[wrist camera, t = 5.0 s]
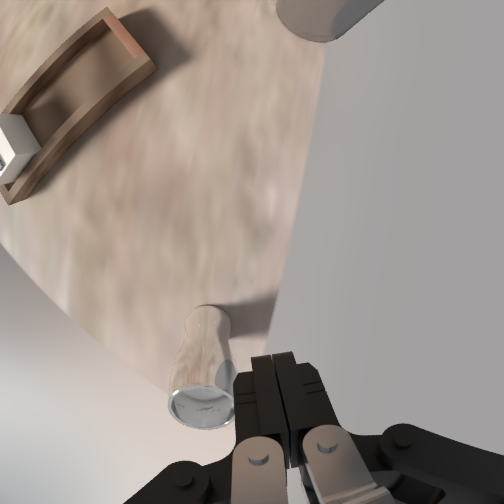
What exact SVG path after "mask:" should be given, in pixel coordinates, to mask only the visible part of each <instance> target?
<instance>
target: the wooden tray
mask: <svg viewBox="0 0 504 504" xmlns="http://www.w3.org/2000/svg"><path fill="white" fill-rule="evenodd" d="M157 69H158V68H157V66H156V65H155V64H154V63H153V61H152V60H151V59H150V58H149V56H148V55H147V54H146V53H145V52H144V50H143V49H142V48H141V47H140V45H139V44H138V43H137V42H136V40H135V39H134V38H133V37H132V36H131V34H130V33H129V32H128V31H127V30H126V28H125V27H124V26H123V25H122V24H121V22H120V21H119V20H118V19H117V18H116V17H115V15H114V14H113V13H112V12H111V11H110V10H109V9H108V7H106V8H104V9H103V10H102V11H100V12H99V13H98V14H97V15H95V16H94V17H93V18H92V19H90V20H89V21H88V22H87V23H86V24H84V25H83V26H82V27H81V28H80V29H79V30H77V31H76V32H75V33H74V34H73V35H72V36H71V37H70V38H68V39H67V40H66V41H65V42H64V43H63V44H62V45H61V46H60V47H59V48H58V49H57V50H56V51H55V52H54V53H53V54H52V55H51V56H50V57H49V58H48V59H47V60H46V61H45V62H44V63H43V64H42V65H41V66H40V67H39V68H38V70H37V71H36V72H35V73H34V74H33V75H32V76H31V77H30V78H29V80H28V81H27V82H26V83H25V84H24V85H23V87H22V88H21V89H20V90H19V91H18V93H17V94H16V95H15V96H14V98H13V99H12V100H11V102H10V103H9V104H8V105H7V107H6V108H5V109H4V111H3V112H2V114H16V115H22V116H23V118H24V120H25V121H26V123H27V125H28V127H29V128H30V130H31V132H32V133H33V135H34V137H35V138H36V140H37V141H38V143H39V145H40V146H41V150H40V151H39V152H38V153H37V154H36V156H35V157H34V158H33V159H32V161H31V162H30V163H29V164H28V166H27V167H26V168H25V170H24V171H23V172H22V174H21V175H20V176H19V178H18V179H17V180H16V181H15V182H11V183H7V184H3V185H0V192H1V194H2V196H3V198H4V199H5V201H6V202H7V204H8V205H11V204H14V203H17V202H20V201H23V200H25V199H26V198H27V197H28V195H29V194H30V193H31V192H32V190H33V189H34V188H35V187H36V185H37V184H38V183H39V182H40V180H41V179H42V178H43V177H44V176H45V174H46V173H47V172H48V171H49V170H50V168H51V167H52V166H53V165H54V164H55V163H56V162H57V160H58V159H59V158H60V157H61V156H62V155H63V154H64V153H65V152H66V151H67V150H68V148H69V147H70V146H71V145H72V144H73V143H74V142H75V141H76V140H77V139H78V138H79V137H80V136H81V135H82V134H83V133H84V132H85V131H86V130H87V129H88V128H89V127H90V126H91V125H92V124H93V123H94V122H95V121H96V120H97V119H99V118H100V117H101V116H102V115H103V114H104V113H105V112H106V111H107V110H108V109H109V108H111V107H112V106H113V105H114V104H115V103H116V102H117V101H119V100H120V99H121V98H122V97H123V96H124V95H126V94H127V93H128V92H129V91H130V90H132V89H133V88H134V87H135V86H137V85H138V84H139V83H140V82H142V81H143V80H144V79H146V78H147V77H148V76H149V75H151V74H152V73H153V72H155V71H156V70H157Z"/></svg>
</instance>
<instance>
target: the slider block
mask: <svg viewBox="0 0 504 504" xmlns="http://www.w3.org/2000/svg"><path fill="white" fill-rule="evenodd" d="M40 150H41V146H40V145H39V143H38V141H37V140H36V138H35V137H34V135H33V133H32V132H31V130H30V128H29V127H28V125H27V123H26V121H25V120H24V118H23V116H22V115H16V114H2V113H0V185H3V184H7V183H11V182H15V181H16V180H17V179H18V178H19V176H20V175H21V174H22V172H23V171H24V170H25V168H26V167H27V166H28V164H29V163H30V162H31V161H32V159H33V158H34V157H35V156H36V154H37V153H38V152H39V151H40Z"/></svg>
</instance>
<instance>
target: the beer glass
mask: <svg viewBox="0 0 504 504" xmlns="http://www.w3.org/2000/svg"><path fill="white" fill-rule="evenodd" d="M185 330H186V337H185V340H184V342H183V344H182V346H181V348H180V350H179V352H178V354H177V356H176V358H175V361H174V363H173V367H172V371H171V376H170V383H169V399H168V410H169V412H170V414H171V415H172V416H173V417H174V419H176V420H177V421H178V422H180V423H182V424H183V425H186V426H188V427H191V428H195V429H202V430H212V429H218V428H222V427H224V426H226V425H228V424H230V423H231V422H232V421H233V420H234V419H235V415H234V398H233V397H234V396H233V382H234V380H235V378H236V376H237V374H238V370H237V366H236V362H235V359H234V356H233V353H232V350H231V347H230V344H229V336H230V332H231V321H230V318H229V316H228V315H227V314H226V313H225V312H224V311H223V310H222V309H220V308H218V307H215V306H209V305H205V306H200V307H197V308H195V309H193V310H192V311H191V312H190V313H189V314H188V316H187V318H186V321H185Z"/></svg>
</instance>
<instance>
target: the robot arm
mask: <svg viewBox="0 0 504 504" xmlns="http://www.w3.org/2000/svg"><path fill="white" fill-rule="evenodd" d="M383 1H384V0H277V13H278V16H279V18H280V20H281V21H282V23H283V24H284V25H285V26H286V27H287V28H288V29H289V30H290V31H291V32H293V33H294V34H296V35H298V36H299V37H301V38H304V39H307V40H310V41H315V42H328V41H333V40H335V39H338V38H339V37H341V36H342V35H343V34H345V33H346V32H347V31H348V30H349V29H350V28H352V27H353V26H354V25H355V24H356V23H358V22H359V21H360V20H361V19H362V18H363V17H365V16H366V15H367V14H368V13H369V12H371V11H372V10H373V9H374V8H376V7H377V6H378V5H379V4H380V3H382V2H383ZM251 363H252V370H253V371H250V372H242V373H238V374H237V376H236V378H235V380H234V382H233V396H234V397H233V398H234V415H235V430H236V444H235V447H234V449H233V450H232V452H231V453H230V454H229V455H228V456H226V457H225V458H223V459H222V460H219V461H217V462H214V463H211V464H208V465H205V466H201V465H200V464H198V463H195V462H192V461H179V462H175V463H172V464H170V465H168V466H167V467H166V468H165V469H164V470H162V471H161V472H160V473H159V474H158V475H157V476H156V477H154V478H153V479H152V480H151V481H150V482H149V483H147V484H146V485H145V486H144V487H143V488H142V489H140V490H139V491H138V492H137V493H136V494H134V495H133V496H132V497H131V498H130V499H128V500H127V501H126V502H125V503H123V504H288V495H287V469H289V459H290V463H291V468H294V467H299V470H300V474H301V486H302V489H303V492H304V495H305V498H306V501H307V504H504V455H500V454H496V453H493V452H489V451H486V450H482V449H479V448H476V447H473V446H470V445H467V444H463V443H461V442H457V441H455V440H451V439H449V438H446V437H443V436H440V435H438V434H435V433H432V432H429V431H426V430H424V429H421V428H418V427H416V426H414V425H411V424H403V423H402V424H396V425H393V426H391V427H389V428H387V429H386V430H385V431H384V433H383V434H382V435H367V436H366V435H365V436H364V435H363V436H362V435H355V434H352V433H350V432H348V431H346V430H345V429H343V428H342V427H341V425H340V424H339V422H338V420H337V417H336V415H335V412H334V410H333V407H332V405H331V403H330V400H329V397H328V395H327V392H326V391H325V387H324V385H323V383H322V380H321V378H320V375H319V373H318V370H317V369H315V368H314V367H313V366H312V365H311V364H310V363H302V364H296V361H295V358H294V355H293V353H292V351H291V352H285V353H278V354H272V358H271V355H265V356H258V357H251Z"/></svg>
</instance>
